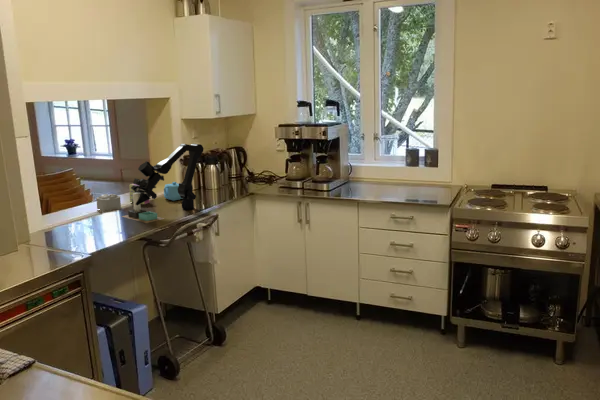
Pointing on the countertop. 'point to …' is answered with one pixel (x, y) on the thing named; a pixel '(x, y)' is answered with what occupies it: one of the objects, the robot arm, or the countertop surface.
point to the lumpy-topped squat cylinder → (108, 202)
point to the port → (148, 216)
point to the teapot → (172, 191)
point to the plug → (135, 199)
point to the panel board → (135, 216)
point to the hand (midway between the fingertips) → (134, 204)
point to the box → (134, 192)
